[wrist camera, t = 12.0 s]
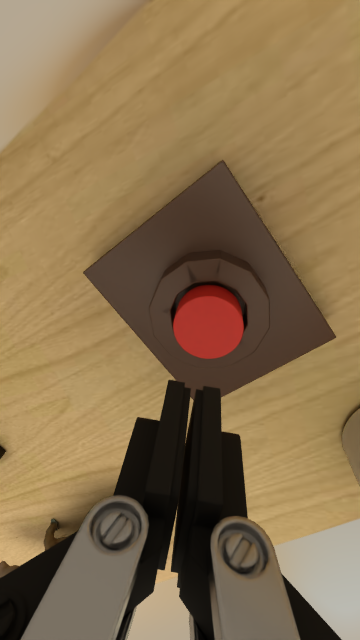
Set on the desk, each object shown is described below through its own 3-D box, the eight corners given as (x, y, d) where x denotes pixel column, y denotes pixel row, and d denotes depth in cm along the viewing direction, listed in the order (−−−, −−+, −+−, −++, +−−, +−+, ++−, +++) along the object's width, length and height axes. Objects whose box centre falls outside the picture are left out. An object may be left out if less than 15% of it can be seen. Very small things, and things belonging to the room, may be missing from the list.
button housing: (94, 262, 22) (70, 282, 18) (222, 159, 18) (223, 159, 15) (201, 389, 25) (198, 427, 22) (326, 321, 22) (347, 353, 18)
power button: (163, 307, 19) (158, 320, 17) (217, 271, 17) (217, 282, 16) (201, 353, 20) (200, 370, 18) (254, 322, 18) (257, 337, 17)
